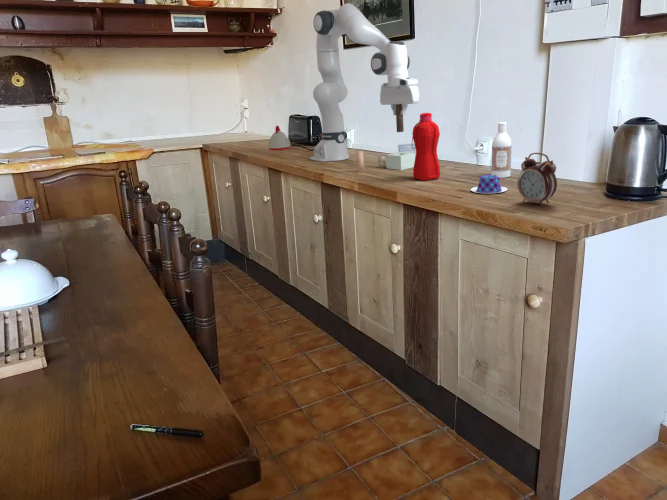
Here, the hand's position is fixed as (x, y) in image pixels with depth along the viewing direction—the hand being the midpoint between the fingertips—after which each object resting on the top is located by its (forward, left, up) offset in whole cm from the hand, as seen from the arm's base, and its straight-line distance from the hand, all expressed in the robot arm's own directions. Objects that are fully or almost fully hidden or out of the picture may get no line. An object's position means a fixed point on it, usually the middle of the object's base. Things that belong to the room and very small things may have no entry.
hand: (399, 115), depth 224 cm
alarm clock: (+82, -28, -23) cm, 90 cm away
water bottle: (+27, -15, -23) cm, 39 cm away
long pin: (0, 0, -7) cm, 7 cm away
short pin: (-9, -4, -23) cm, 25 cm away
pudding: (+60, -20, -23) cm, 68 cm away
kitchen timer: (-123, +15, -23) cm, 126 cm away
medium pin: (-9, -17, -23) cm, 29 cm away
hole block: (0, 0, -23) cm, 23 cm away
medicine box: (-7, +11, -23) cm, 26 cm away
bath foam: (+49, +3, -23) cm, 55 cm away
